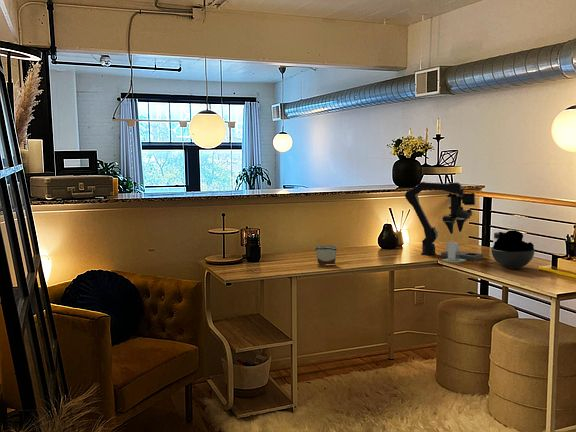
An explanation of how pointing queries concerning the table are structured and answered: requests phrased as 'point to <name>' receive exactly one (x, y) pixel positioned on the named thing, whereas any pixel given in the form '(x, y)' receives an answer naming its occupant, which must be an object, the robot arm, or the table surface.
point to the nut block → (453, 252)
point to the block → (450, 244)
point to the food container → (326, 254)
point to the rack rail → (466, 255)
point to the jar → (496, 237)
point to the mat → (454, 261)
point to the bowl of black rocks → (512, 250)
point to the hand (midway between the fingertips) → (455, 232)
